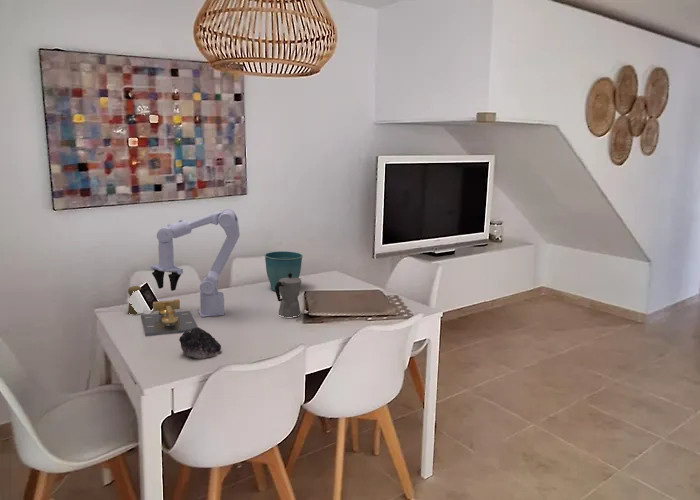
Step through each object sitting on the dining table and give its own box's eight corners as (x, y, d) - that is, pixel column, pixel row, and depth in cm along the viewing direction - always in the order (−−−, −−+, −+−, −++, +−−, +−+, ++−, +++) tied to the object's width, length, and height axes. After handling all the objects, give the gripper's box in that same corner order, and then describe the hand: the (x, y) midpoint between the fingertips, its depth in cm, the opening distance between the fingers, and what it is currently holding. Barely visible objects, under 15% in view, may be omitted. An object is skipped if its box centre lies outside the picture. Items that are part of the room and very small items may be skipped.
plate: (189, 313, 235) (189, 308, 235) (198, 330, 216) (198, 326, 215) (140, 317, 228) (140, 313, 227) (145, 336, 208) (145, 331, 208)
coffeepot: (291, 309, 246) (292, 268, 242) (308, 313, 241) (309, 272, 237) (266, 317, 233) (266, 275, 230) (283, 322, 228) (284, 279, 224)
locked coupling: (152, 312, 228) (152, 299, 227) (178, 309, 232) (178, 297, 231) (154, 316, 223) (153, 304, 222) (180, 314, 227) (180, 302, 226)
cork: (138, 315, 230) (137, 289, 228) (124, 314, 231) (123, 288, 229) (146, 311, 236) (145, 285, 234) (133, 309, 237) (132, 284, 235)
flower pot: (265, 283, 284) (265, 250, 280) (301, 284, 286) (302, 251, 282) (263, 294, 266) (263, 258, 262) (302, 294, 268) (303, 259, 265)
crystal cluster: (223, 347, 203) (221, 319, 202) (219, 358, 190) (217, 329, 189) (185, 350, 202) (182, 322, 200) (178, 362, 188) (175, 333, 187)
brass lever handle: (176, 317, 223) (176, 304, 222) (179, 325, 215) (179, 312, 213) (160, 318, 221) (160, 306, 220) (163, 327, 212) (162, 314, 211)
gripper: (144, 256, 228) (145, 289, 231) (174, 260, 223) (175, 294, 225) (156, 253, 234) (157, 285, 237) (185, 257, 229) (186, 289, 232)
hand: (167, 289), depth 232 cm, fingers open, 6 cm apart
